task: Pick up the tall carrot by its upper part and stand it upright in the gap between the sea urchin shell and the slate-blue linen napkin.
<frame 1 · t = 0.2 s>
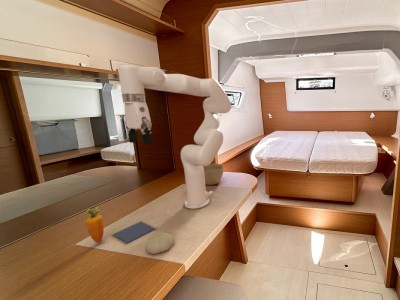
hand: (140, 143, 87), 37 cm above the worktop, tool pointing down, fingers open, 9 cm apart
napkin: (134, 232, 90), on the worktop
sea urchin shell: (160, 247, 80), on the worktop
planter bowl: (212, 182, 145), on the worktop
carrot: (99, 244, 83), on the worktop
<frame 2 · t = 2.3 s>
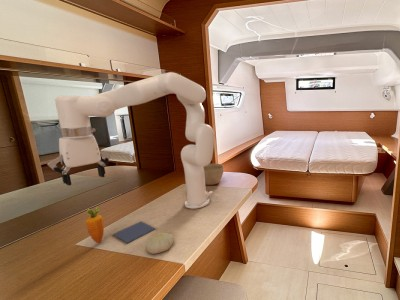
hand: (86, 180, 78), 26 cm above the worktop, tool pointing down, fingers open, 9 cm apart
nothing on the worktop moved.
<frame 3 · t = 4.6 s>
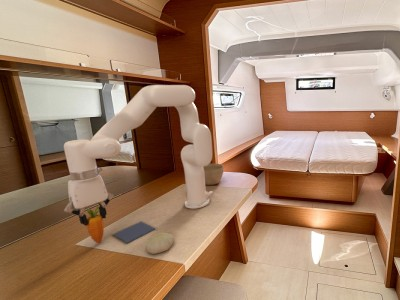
hand: (94, 220, 81), 10 cm above the worktop, tool pointing down, fingers closed on carrot, 5 cm apart
carrot: (99, 244, 83), on the worktop, touching gripper
everything else where it was.
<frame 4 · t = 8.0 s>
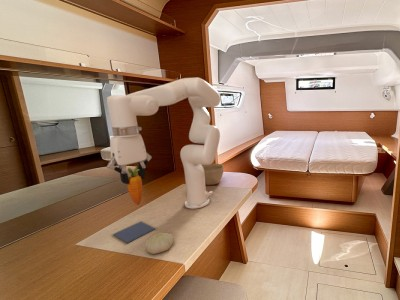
hand: (134, 180, 80), 25 cm above the worktop, tool pointing down, fingers closed on carrot, 5 cm apart
carrot: (138, 205, 82), point 15 cm above the worktop, touching gripper
everything else where it was.
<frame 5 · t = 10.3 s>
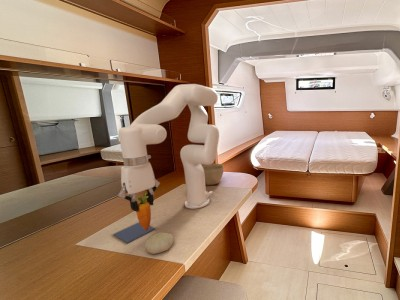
hand: (143, 206, 82), 14 cm above the worktop, tool pointing down, fingers closed on carrot, 5 cm apart
carrot: (146, 230, 84), point 4 cm above the worktop, touching gripper
everything else where it was.
when the fingers open (10 cm above the worktop, at t = 11.7 s): carrot stays where it is, on the worktop.
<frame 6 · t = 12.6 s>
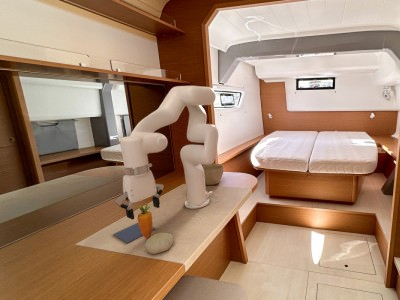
hand: (144, 212, 83), 11 cm above the worktop, tool pointing down, fingers open, 9 cm apart
carrot: (148, 239, 85), on the worktop
everything else where it was.
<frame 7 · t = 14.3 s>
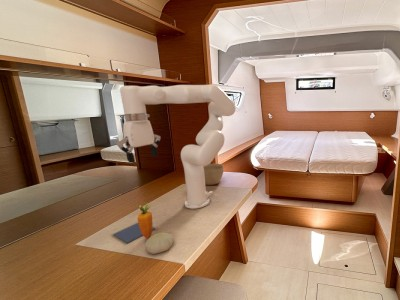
hand: (143, 159, 91), 29 cm above the worktop, tool pointing down, fingers open, 9 cm apart
nothing on the worktop moved.
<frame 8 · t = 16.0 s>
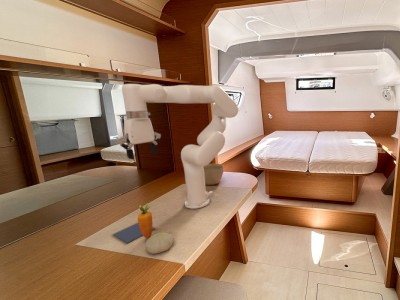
hand: (143, 156, 92), 30 cm above the worktop, tool pointing down, fingers open, 9 cm apart
nothing on the worktop moved.
at the end: carrot inside the target area (0.1 cm from its centre), on the worktop; carrot tilted 0°; the gripper is holding nothing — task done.
